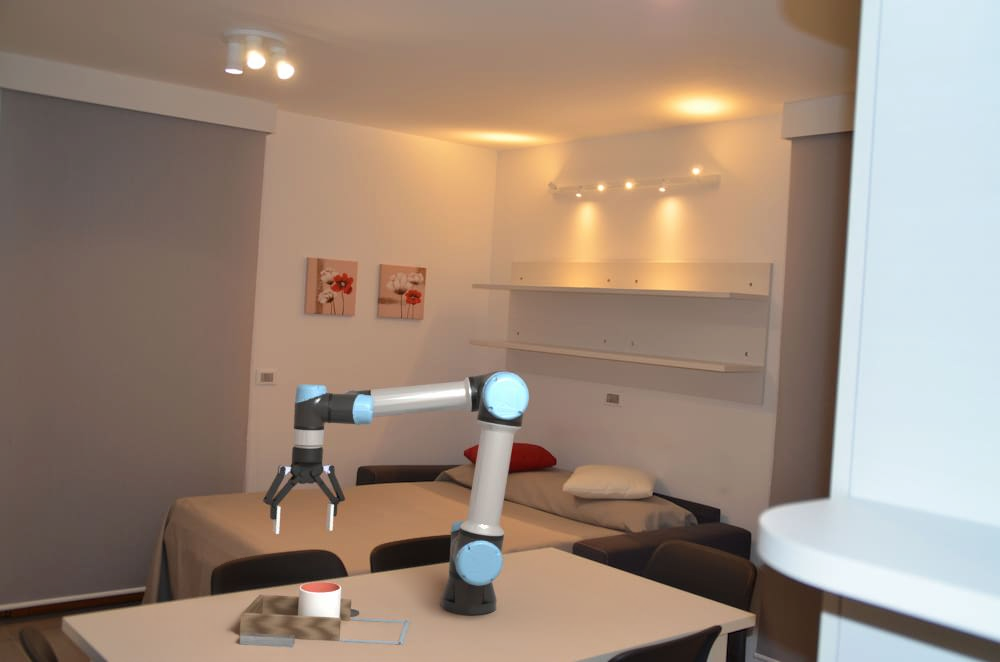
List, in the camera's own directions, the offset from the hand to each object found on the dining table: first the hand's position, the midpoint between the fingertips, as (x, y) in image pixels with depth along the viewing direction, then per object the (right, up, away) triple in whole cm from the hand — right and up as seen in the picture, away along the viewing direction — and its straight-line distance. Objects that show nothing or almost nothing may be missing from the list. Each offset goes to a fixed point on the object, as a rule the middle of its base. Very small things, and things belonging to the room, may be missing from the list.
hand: (303, 531), depth 217 cm
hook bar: (-4, -22, -19) cm, 29 cm away
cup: (+5, -23, -6) cm, 24 cm away
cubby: (0, -22, -6) cm, 23 cm away
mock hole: (+10, -23, +8) cm, 26 cm away
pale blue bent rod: (+19, -23, -5) cm, 30 cm away
